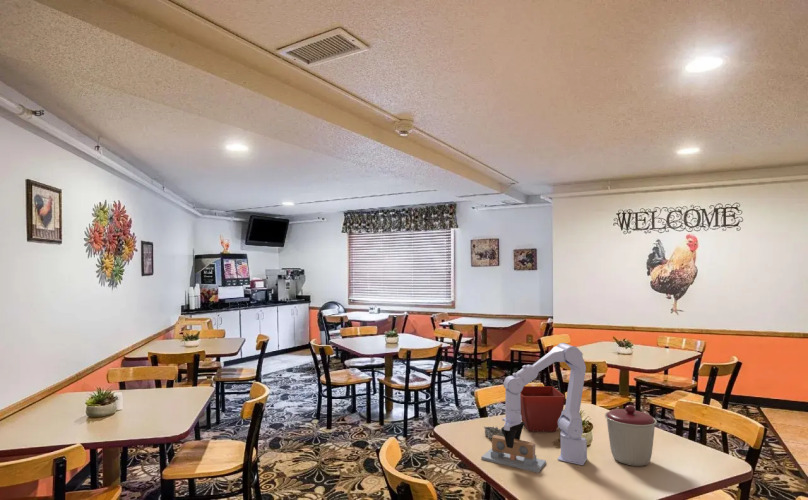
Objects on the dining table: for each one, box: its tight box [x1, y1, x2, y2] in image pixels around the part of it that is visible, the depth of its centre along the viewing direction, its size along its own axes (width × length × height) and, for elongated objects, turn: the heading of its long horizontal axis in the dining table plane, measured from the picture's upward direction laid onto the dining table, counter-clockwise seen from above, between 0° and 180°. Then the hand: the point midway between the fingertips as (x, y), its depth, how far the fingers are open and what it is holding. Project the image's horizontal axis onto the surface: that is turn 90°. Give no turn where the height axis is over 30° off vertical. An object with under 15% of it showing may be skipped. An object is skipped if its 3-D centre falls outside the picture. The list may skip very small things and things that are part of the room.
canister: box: [604, 404, 658, 467], centre depth 180 cm, size 18×18×21 cm
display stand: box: [480, 448, 547, 474], centre depth 179 cm, size 22×10×3 cm, turn 58°
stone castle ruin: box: [483, 426, 504, 439], centre depth 205 cm, size 11×8×4 cm
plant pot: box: [520, 385, 566, 433], centre depth 218 cm, size 19×19×17 cm
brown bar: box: [491, 434, 536, 459], centre depth 179 cm, size 16×3×5 cm, turn 58°
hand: (513, 444), depth 179 cm, fingers open, 7 cm apart
